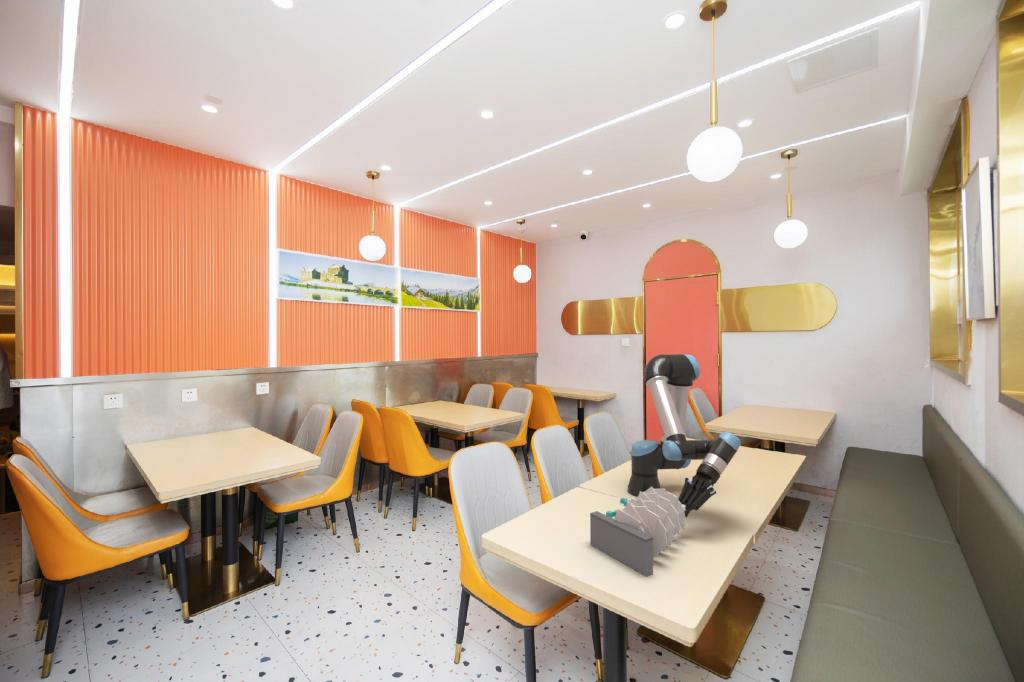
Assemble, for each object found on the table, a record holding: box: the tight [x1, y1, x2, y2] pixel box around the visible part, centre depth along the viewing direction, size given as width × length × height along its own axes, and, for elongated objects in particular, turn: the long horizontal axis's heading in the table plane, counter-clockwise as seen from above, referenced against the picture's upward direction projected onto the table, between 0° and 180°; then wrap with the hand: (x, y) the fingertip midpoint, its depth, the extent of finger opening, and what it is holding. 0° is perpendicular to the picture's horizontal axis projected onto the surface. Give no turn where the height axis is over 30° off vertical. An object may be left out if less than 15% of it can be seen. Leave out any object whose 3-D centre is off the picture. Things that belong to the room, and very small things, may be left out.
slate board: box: [589, 511, 654, 577], centre depth 138 cm, size 24×3×11 cm, turn 32°
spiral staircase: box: [613, 487, 687, 559], centre depth 145 cm, size 18×18×25 cm
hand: (676, 522), depth 151 cm, fingers closed
